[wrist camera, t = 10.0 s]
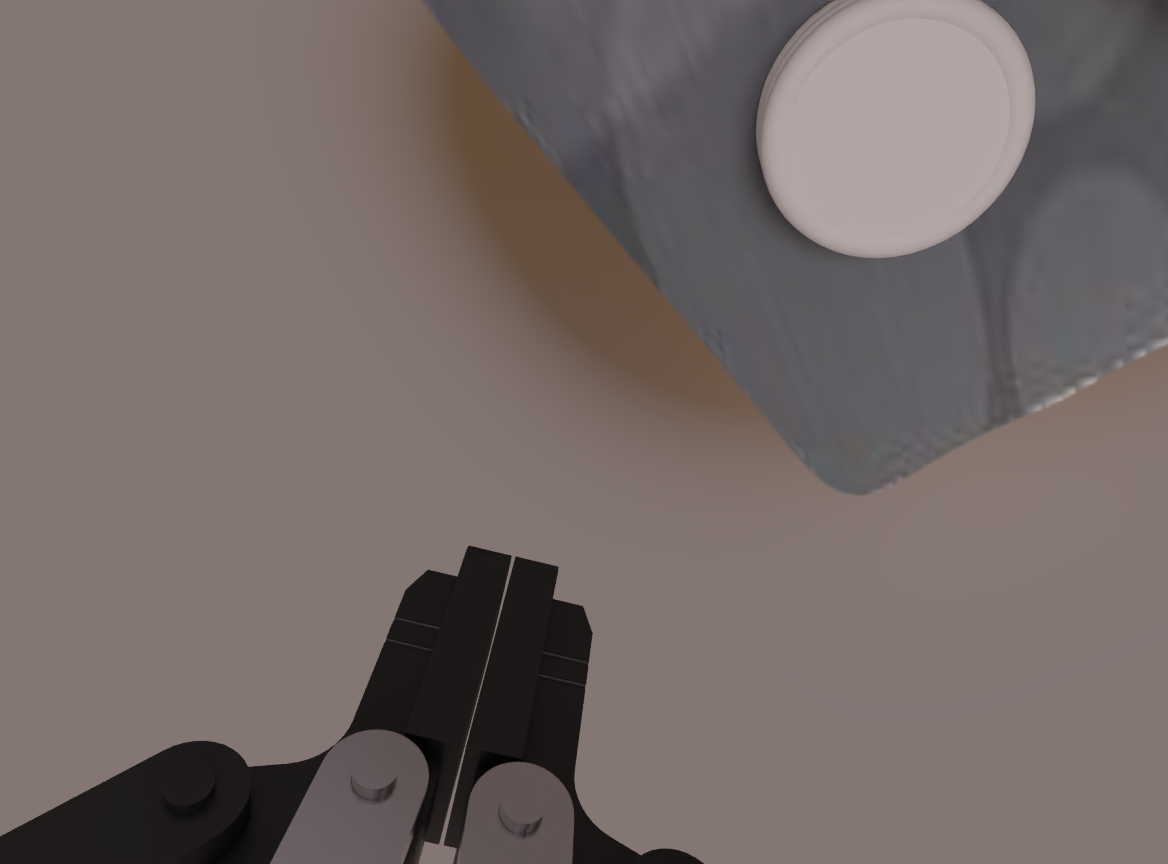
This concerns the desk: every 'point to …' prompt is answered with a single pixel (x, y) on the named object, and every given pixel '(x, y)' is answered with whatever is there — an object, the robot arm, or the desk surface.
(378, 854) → the robot arm
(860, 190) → the white round container
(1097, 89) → the desk surface
